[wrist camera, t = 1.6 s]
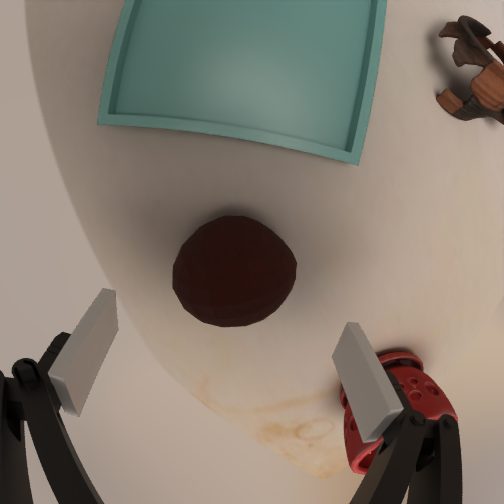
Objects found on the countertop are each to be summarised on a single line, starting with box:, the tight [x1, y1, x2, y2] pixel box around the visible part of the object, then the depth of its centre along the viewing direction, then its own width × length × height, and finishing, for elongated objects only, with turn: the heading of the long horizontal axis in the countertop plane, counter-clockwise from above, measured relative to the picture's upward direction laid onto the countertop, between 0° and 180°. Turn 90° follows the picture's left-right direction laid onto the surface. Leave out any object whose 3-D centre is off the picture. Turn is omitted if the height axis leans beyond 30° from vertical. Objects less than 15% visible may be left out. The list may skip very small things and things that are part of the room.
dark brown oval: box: [173, 216, 297, 327], centre depth 21 cm, size 8×9×8 cm
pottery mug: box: [436, 15, 504, 125], centre depth 16 cm, size 12×10×8 cm
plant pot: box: [341, 352, 458, 475], centre depth 27 cm, size 13×13×12 cm
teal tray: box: [97, 0, 387, 165], centre depth 16 cm, size 20×20×2 cm
